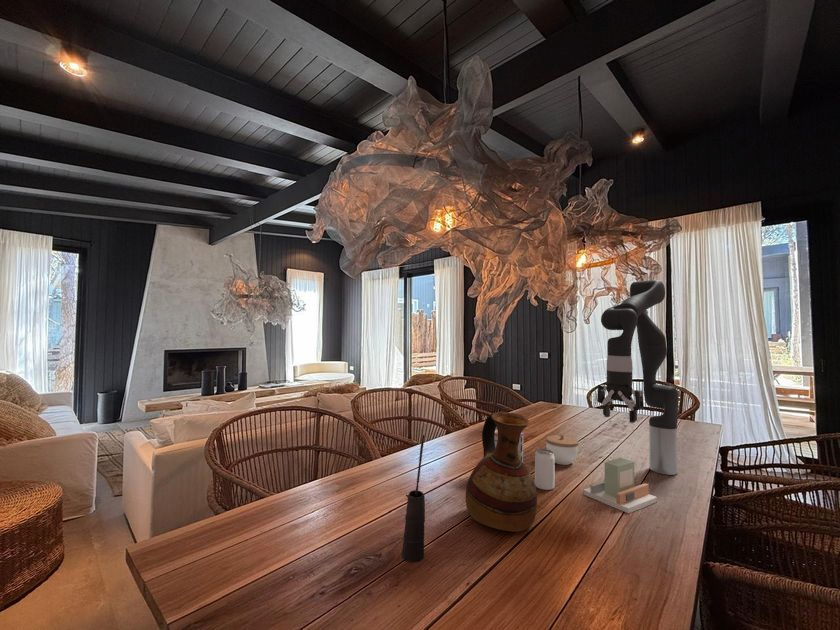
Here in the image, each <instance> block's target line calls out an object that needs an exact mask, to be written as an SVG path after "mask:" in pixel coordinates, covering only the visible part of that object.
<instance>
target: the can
mask: <svg viewBox="0 0 840 630" xmlns="http://www.w3.org/2000/svg"><path fill="white" fill-rule="evenodd" d="M555 464H556V463H555V458H554V455H553V451H551V450H547V448H539V449H536V450H535V454H534V484H535V488H536V489H539V490H542V491H552V490H554V489H555V484H556V483H555V474H556V473H555V469H556V467H555Z"/></svg>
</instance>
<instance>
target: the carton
mask: <svg viewBox="0 0 840 630" xmlns="http://www.w3.org/2000/svg"><path fill="white" fill-rule="evenodd" d="M604 480H605V494H607V495H610V496H612V497H615V498H616V493H619V492H621V491H624V490H627V489H630V488H633V487H635V461H633V460H629V459H626V458H622V457H619V458H615V459H611V460H607V461H604Z"/></svg>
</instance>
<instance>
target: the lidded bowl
mask: <svg viewBox="0 0 840 630" xmlns="http://www.w3.org/2000/svg"><path fill="white" fill-rule="evenodd" d="M545 441H546V442H545V443H546V444H545V445H546V449H547V450H551V451H553V455H554V458H555V464H558V465H561V466H568V465H571V464H572V463H573V462H574V461H575V460H576V458H577V456H578V452H579V441H578V439H576V438H573V437H571V436H566V435H564V434H562V433H561V434H560V435H556V434H554V435H548V436H546V437H545Z"/></svg>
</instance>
